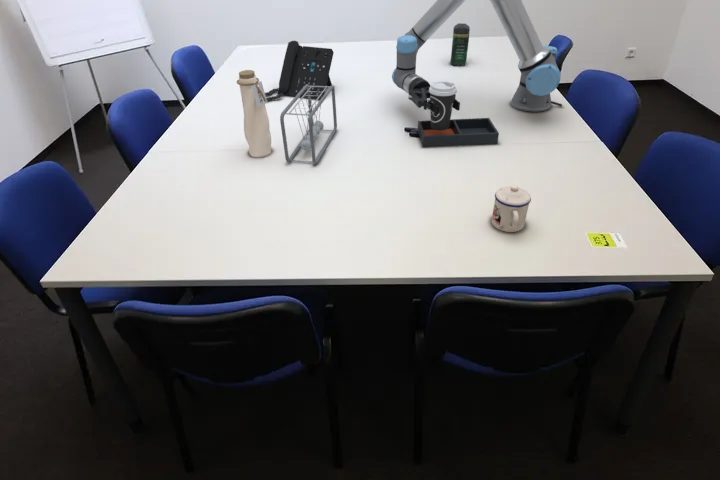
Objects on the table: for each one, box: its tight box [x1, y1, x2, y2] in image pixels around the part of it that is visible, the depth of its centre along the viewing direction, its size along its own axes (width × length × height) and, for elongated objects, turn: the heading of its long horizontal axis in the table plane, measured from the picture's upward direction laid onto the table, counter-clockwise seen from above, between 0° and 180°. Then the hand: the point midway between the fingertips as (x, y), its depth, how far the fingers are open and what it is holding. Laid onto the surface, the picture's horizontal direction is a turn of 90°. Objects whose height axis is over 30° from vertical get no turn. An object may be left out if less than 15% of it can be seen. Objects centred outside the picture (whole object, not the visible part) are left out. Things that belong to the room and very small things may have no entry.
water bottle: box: [236, 69, 272, 158], centre depth 159 cm, size 10×9×28 cm
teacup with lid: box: [491, 184, 532, 233], centre depth 124 cm, size 12×9×12 cm
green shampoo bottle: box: [450, 22, 471, 67], centre depth 234 cm, size 10×8×19 cm
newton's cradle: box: [279, 84, 338, 166], centre depth 164 cm, size 30×10×18 cm, turn 168°
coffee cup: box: [429, 80, 458, 130], centre depth 165 cm, size 10×10×15 cm
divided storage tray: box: [417, 117, 500, 148], centre depth 171 cm, size 26×14×4 cm, turn 92°
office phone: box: [265, 40, 334, 102], centre depth 206 cm, size 29×28×20 cm
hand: (448, 108), depth 160 cm, fingers closed on coffee cup, 7 cm apart
